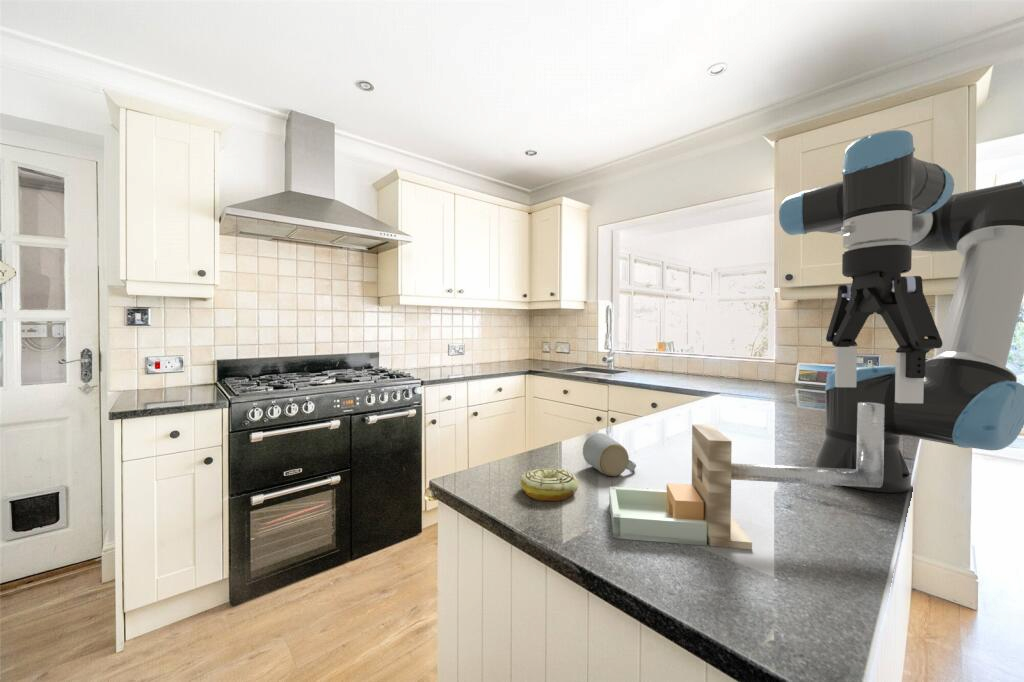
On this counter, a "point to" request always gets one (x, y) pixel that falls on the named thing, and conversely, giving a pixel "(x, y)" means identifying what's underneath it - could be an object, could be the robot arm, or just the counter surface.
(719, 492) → the bracket
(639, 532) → the tray
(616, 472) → the ceramic mug
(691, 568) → the counter surface
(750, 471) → the grey l-shaped bar
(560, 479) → the decorated donut
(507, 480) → the counter surface
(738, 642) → the counter surface
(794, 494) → the counter surface
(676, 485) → the block
